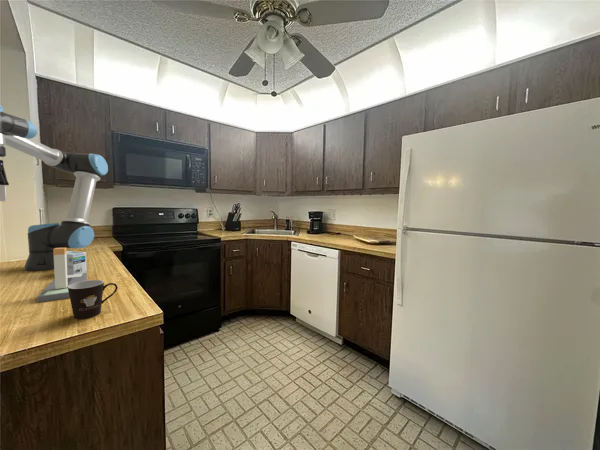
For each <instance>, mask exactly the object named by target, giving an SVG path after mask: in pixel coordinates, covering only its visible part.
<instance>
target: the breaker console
mask: <svg viewBox="0 0 600 450" xmlns="http://www.w3.org/2000/svg"><path fill="white" fill-rule="evenodd" d="M67 278H68V286H69V285H71V284H73V283H77V282H81V281H87V279H88V272H87V273H84V274H75V275H67ZM68 286H67V287H66V288H60V289H55V278H54V279H53V280H52V281H51V282H50V283H49V284H48V285H47V286H46V288H44V289H43V290H42V291H41V293H39V295H38V296H36V297H37V298H36V299H37V303H42V302H50V301H51V302H52V301H57V300H58V301H59V300H65V299H66V300H67V299H70V296H69V291H68Z"/></svg>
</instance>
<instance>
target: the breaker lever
mask: <svg viewBox="0 0 600 450" xmlns="http://www.w3.org/2000/svg"><path fill="white" fill-rule="evenodd" d="M66 251H67V248H66V247H65V248H55V249H53V253H54V269H53V271H54V273H53V274H54V279H55V289H60V288H66V287H67V286H68V278H67V255H66Z"/></svg>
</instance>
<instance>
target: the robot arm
mask: <svg viewBox="0 0 600 450" xmlns="http://www.w3.org/2000/svg"><path fill="white" fill-rule="evenodd" d="M37 134H38V128H37V125H36V124H35V123H33V122H32V121H29V120H27V119H25V118H20V117H17V116H15V115H12V114H9V113H6V112H5V110H4V107H3V106H2V105H1V104H0V157H1V158H4V157H6V156H7V155H6V154H7V151H6V150H7V149H6V147H5V145H6V146H7V147H9V148H12V149H14V150H17V151H19V152H22V153H24V154H26V155H29V156H31V157H33V158H35V159H38V160H41V161H42V162H43V163H44V164H45V165H47V166H49V167H51V168H54V169H56V170H60V171H62V172H64V173H65V172H66V173H69V174H73V176H75V181H74V186H73V189H72V190H73V191H72V194H71V199H70V202H69V206H68V210H67V215H66V217H65V219H63V220H61V223H59V222H54V223H43V224H33V225H29V226H28V228H27V241H28V244H27V245H28V252H29V253H28V257H27V259H26V262H25V264H24V270H25V271H27V272H28V271H31V272H32V271H33V272H34V271H36V272H38V271H49V270H54V253H53V249H55V248H65V247H66V249H84V248H87V246H89V245H91V243H92V242H93V240H94V238H95V232H94V228H92V227H91V223H90V222H88V221H89V218H90V212H91V209H92V208H91V207H92V203H93V199H94V196H95V195H94V193H95V190H96V185H97V182H98V181H100V180H101V177H102V176H105V175H107V174H108V171H109V166H108V162H107V161H106V159H105V158H104V157H103V156H102V155H100V154H95V153H82V152H80V153H79V152H78V153H77V152H66V151H61V150H60V149H56V148H51V147H49V146H47V145H45V144H43V143H41V142H39V141H37V140H35V139H34V138H35V137H37ZM4 166H5V165H4V160H3V159H0V202H7V187H6V186H9V185H10V183H9V181H8V177H7V175H6V171H5V167H4Z"/></svg>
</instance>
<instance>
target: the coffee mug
mask: <svg viewBox="0 0 600 450" xmlns="http://www.w3.org/2000/svg"><path fill="white" fill-rule="evenodd" d="M108 286H114V287H115V289H114V291H113V292H112V293H111V294H109V295H107V296H106V297H105V298H104V299H103V293H104V291H105V289H106V288H107V287H108ZM68 291H69V296H70V298H69V300H70V301H69V302H70V305H71V310H72V314H73V315H72V316H73V319H75V320H86V319H91V318H95V317H97V316H99V315H100V314H101V312H102V304H103V303H105V302H106V301H107V300H108V299H109V298H111V297H112V296H113V295H114V294H115V293H116V292H117V291H118V285H117V284H116V283H114V282H110V283H109V282H108V283H107V284H105V281H104V280H102V279H89V280H86V281H81V282H77V283H73V284H71V285H69V286H68Z"/></svg>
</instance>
